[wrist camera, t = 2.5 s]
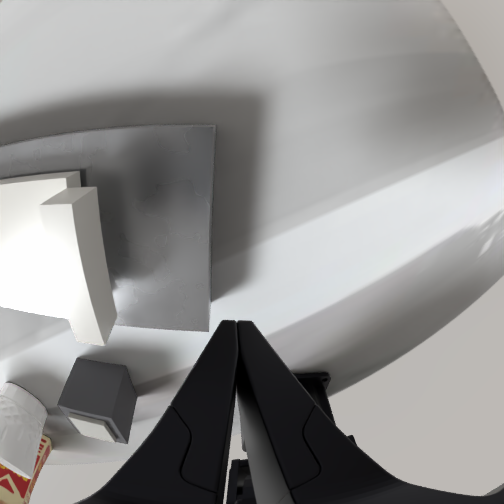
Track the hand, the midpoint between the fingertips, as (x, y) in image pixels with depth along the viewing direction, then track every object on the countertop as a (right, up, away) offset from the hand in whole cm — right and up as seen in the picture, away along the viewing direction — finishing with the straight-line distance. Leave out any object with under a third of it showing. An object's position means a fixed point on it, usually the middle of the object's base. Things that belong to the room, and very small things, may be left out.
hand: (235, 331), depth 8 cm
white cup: (-27, -16, +15) cm, 35 cm away
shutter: (-10, +3, +3) cm, 10 cm away
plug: (-12, -8, +12) cm, 19 cm away
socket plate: (-11, +4, +6) cm, 13 cm away
